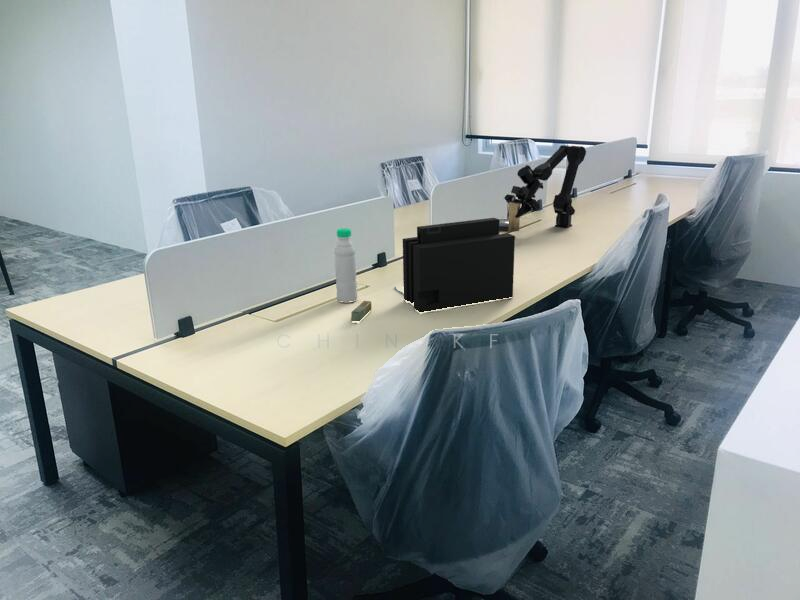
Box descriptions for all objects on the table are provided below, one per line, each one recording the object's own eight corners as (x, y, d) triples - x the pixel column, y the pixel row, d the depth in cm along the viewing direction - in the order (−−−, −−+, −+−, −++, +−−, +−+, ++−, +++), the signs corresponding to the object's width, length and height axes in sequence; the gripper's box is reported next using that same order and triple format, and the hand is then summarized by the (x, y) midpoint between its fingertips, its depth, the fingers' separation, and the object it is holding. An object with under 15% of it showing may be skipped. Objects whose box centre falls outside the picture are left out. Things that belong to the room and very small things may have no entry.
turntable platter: (522, 223, 330) (523, 221, 330) (508, 228, 321) (508, 225, 321) (500, 220, 338) (500, 217, 338) (486, 225, 329) (486, 222, 329)
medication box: (359, 324, 208) (358, 312, 207) (350, 324, 209) (350, 312, 207) (371, 312, 219) (371, 300, 218) (363, 311, 220) (363, 299, 218)
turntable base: (518, 227, 331) (518, 224, 330) (507, 231, 324) (507, 228, 323) (501, 225, 337) (501, 222, 336) (490, 228, 330) (490, 225, 329)
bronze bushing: (521, 230, 313) (522, 202, 309) (515, 232, 309) (516, 203, 305) (512, 228, 316) (513, 201, 312) (506, 230, 313) (507, 202, 308)
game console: (420, 314, 215) (419, 233, 207) (384, 289, 242) (382, 216, 233) (512, 298, 228) (515, 221, 220) (469, 276, 255) (470, 206, 246)
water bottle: (337, 297, 233) (333, 227, 225) (357, 296, 233) (354, 226, 225) (336, 304, 226) (333, 232, 218) (357, 303, 227) (354, 231, 219)
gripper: (507, 177, 315) (489, 203, 312) (536, 181, 300) (517, 209, 298) (519, 191, 321) (501, 217, 319) (548, 196, 307) (529, 224, 304)
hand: (512, 216), depth 310 cm, fingers closed on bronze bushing, 5 cm apart
